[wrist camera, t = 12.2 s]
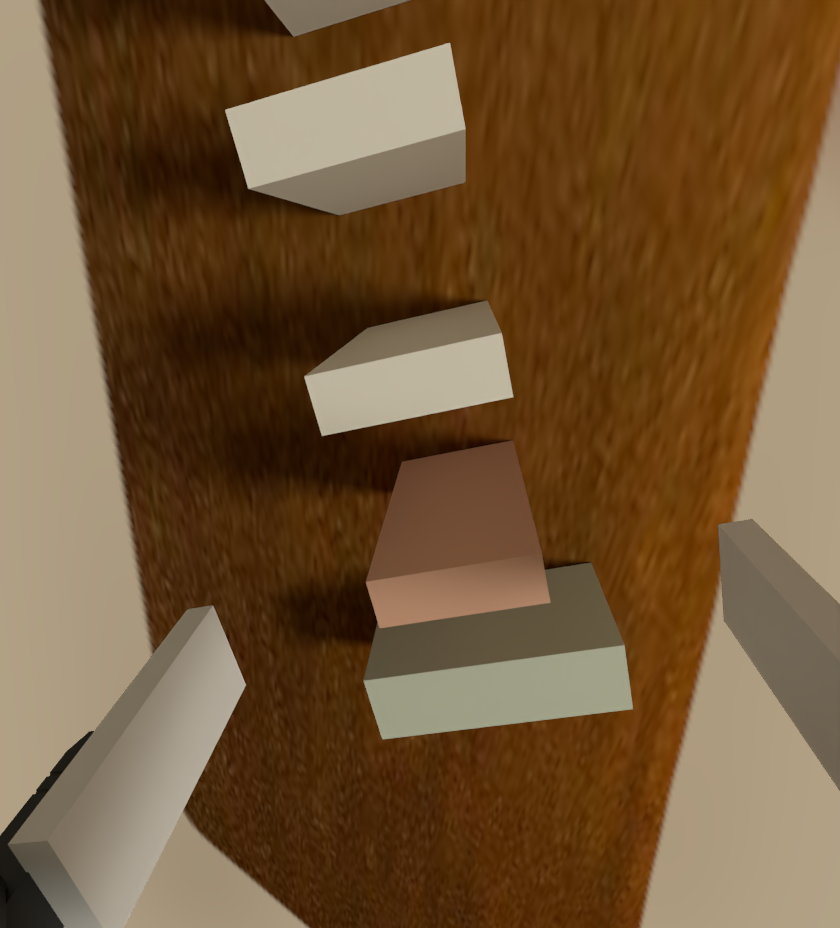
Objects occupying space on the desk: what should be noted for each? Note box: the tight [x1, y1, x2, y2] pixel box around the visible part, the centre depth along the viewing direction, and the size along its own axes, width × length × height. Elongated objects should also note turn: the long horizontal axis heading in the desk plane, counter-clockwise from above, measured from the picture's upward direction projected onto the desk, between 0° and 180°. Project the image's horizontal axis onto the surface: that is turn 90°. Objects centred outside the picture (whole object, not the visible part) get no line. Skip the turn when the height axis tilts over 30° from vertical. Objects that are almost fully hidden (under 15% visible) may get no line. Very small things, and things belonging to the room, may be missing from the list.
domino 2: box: [304, 301, 513, 436], centre depth 19 cm, size 2×5×10 cm, turn 103°
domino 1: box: [225, 43, 465, 215], centre depth 17 cm, size 2×5×10 cm, turn 104°
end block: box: [364, 563, 633, 739], centre depth 25 cm, size 3×10×6 cm, turn 103°
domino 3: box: [366, 440, 551, 628], centre depth 21 cm, size 2×5×10 cm, turn 103°
